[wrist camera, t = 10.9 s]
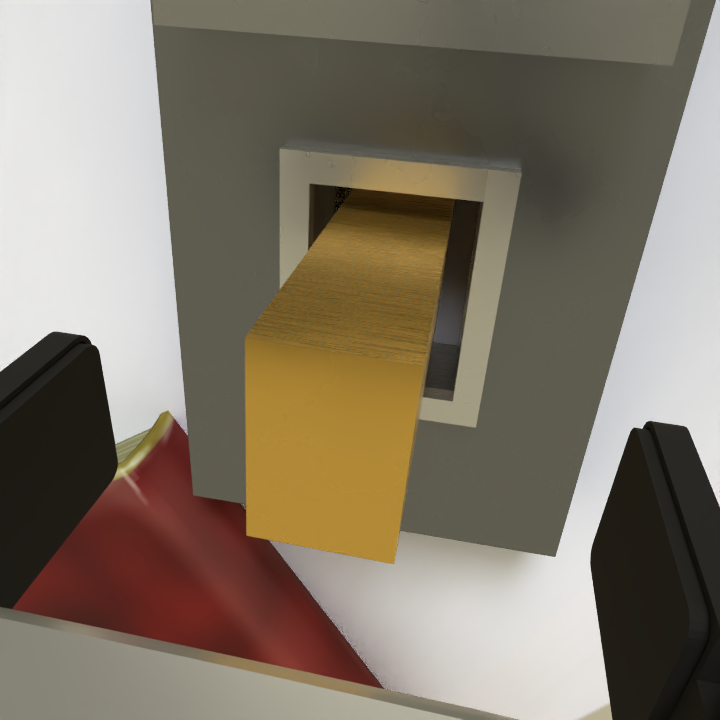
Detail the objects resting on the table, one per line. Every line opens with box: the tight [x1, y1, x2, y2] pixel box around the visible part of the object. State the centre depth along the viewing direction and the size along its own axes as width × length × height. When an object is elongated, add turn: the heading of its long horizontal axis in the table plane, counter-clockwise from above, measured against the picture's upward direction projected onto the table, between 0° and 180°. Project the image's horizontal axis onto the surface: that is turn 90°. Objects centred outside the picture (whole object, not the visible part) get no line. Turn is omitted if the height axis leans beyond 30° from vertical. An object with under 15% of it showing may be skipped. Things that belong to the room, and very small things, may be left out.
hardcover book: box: [12, 411, 384, 689], centre depth 31 cm, size 12×21×4 cm, turn 30°
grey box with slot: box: [151, 0, 716, 557], centre depth 19 cm, size 18×13×5 cm
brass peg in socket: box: [245, 188, 455, 564], centre depth 17 cm, size 4×3×11 cm, turn 175°
